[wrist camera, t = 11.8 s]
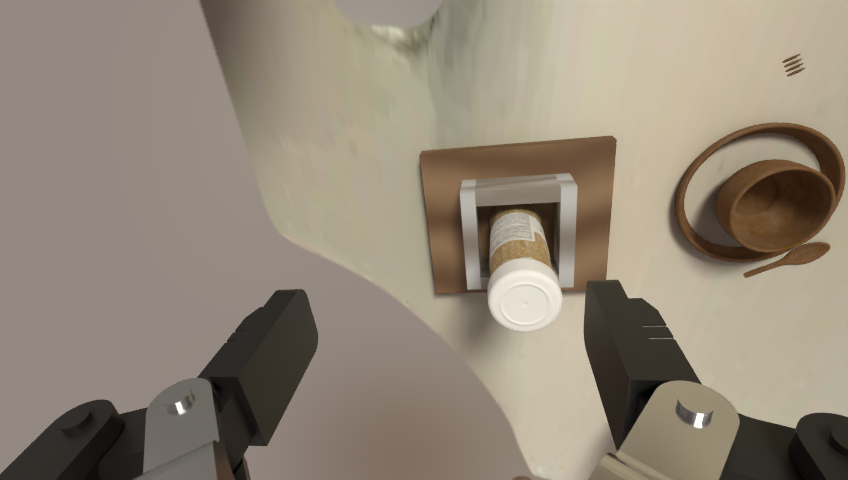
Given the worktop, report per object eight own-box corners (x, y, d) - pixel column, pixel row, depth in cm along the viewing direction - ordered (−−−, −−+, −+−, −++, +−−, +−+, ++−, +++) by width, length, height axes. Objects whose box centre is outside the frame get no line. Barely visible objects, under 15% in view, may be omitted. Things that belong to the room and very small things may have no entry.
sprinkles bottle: (541, 241, 38) (564, 334, 26) (490, 245, 39) (490, 336, 27) (539, 194, 37) (563, 270, 25) (486, 198, 37) (484, 274, 25)
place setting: (633, 138, 36) (658, 156, 30) (927, -21, 29) (1026, -34, 23) (709, 294, 41) (741, 332, 35) (974, 191, 34) (1064, 219, 28)
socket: (422, 150, 38) (412, 166, 33) (611, 135, 35) (629, 150, 31) (437, 285, 44) (431, 313, 39) (601, 281, 41) (615, 311, 36)
